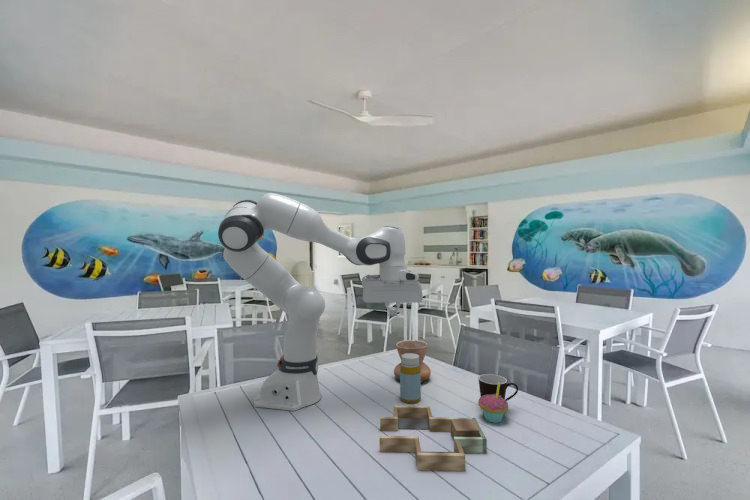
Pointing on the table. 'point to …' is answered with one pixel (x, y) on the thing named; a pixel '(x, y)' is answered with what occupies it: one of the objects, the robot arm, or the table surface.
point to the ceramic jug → (416, 348)
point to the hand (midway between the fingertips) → (392, 315)
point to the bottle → (410, 378)
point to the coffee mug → (494, 385)
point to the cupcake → (493, 406)
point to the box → (424, 420)
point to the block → (464, 428)
